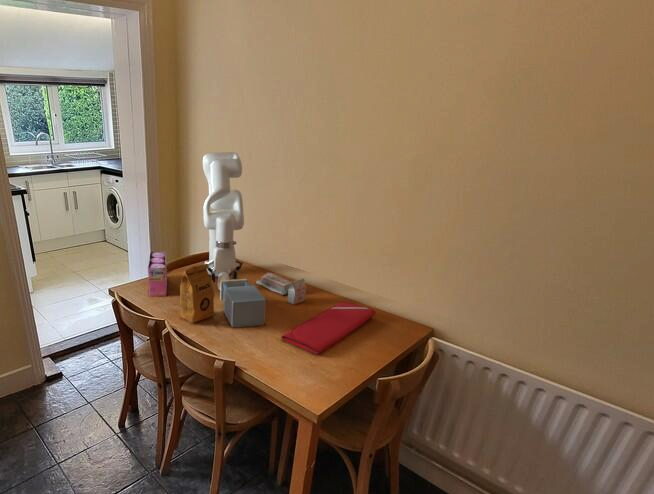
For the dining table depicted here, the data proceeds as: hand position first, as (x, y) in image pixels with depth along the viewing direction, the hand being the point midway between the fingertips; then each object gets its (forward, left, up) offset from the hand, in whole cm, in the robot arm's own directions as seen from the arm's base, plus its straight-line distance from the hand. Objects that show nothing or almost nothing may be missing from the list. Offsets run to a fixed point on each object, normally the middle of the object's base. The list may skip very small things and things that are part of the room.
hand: (223, 280), depth 188 cm
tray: (+13, -11, -3) cm, 18 cm away
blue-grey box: (+23, -20, -4) cm, 30 cm away
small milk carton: (+33, +7, -5) cm, 34 cm away
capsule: (0, 0, -5) cm, 5 cm away
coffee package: (+8, -30, -5) cm, 32 cm away
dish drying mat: (+54, -8, -5) cm, 54 cm away
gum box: (-26, -16, -5) cm, 31 cm away
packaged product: (+19, +16, -5) cm, 25 cm away
